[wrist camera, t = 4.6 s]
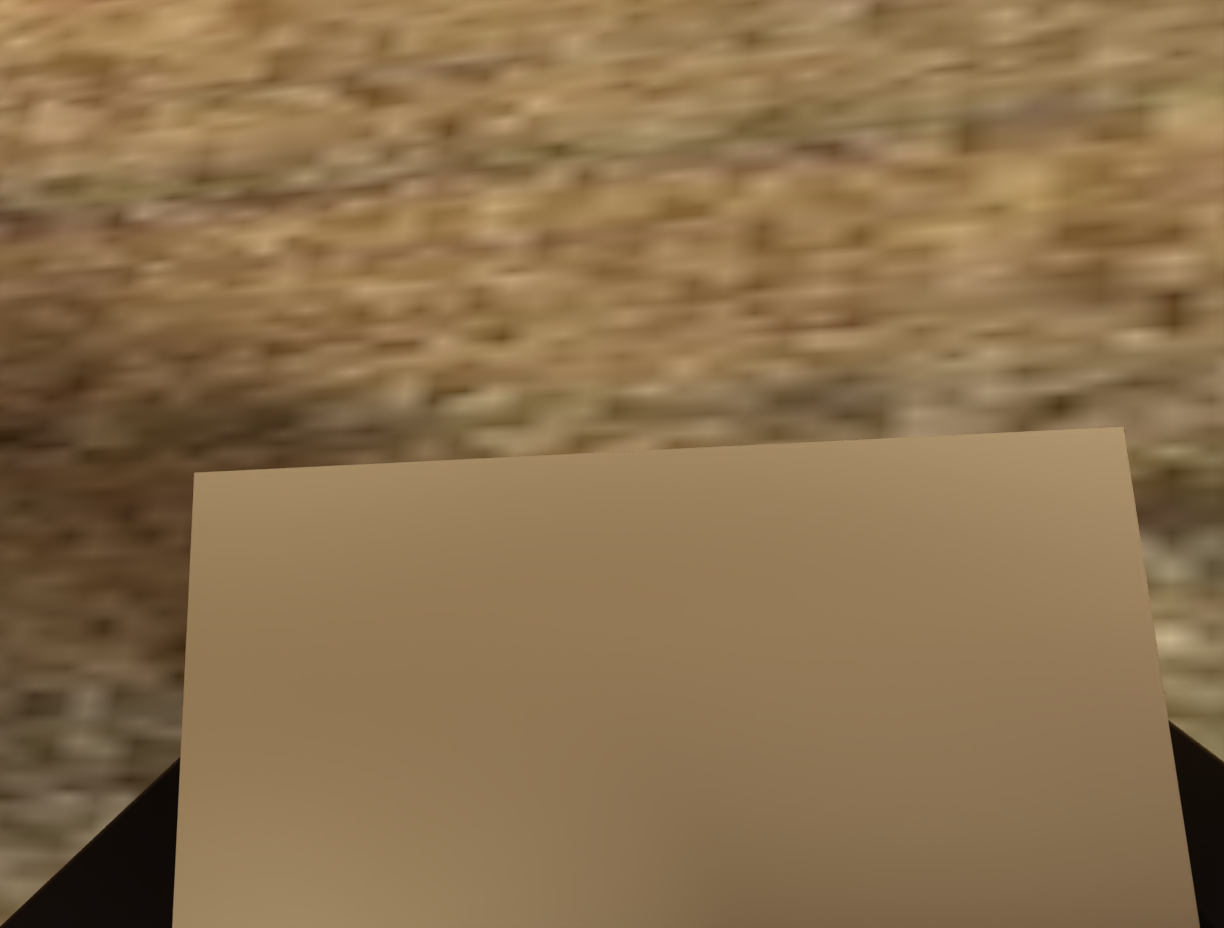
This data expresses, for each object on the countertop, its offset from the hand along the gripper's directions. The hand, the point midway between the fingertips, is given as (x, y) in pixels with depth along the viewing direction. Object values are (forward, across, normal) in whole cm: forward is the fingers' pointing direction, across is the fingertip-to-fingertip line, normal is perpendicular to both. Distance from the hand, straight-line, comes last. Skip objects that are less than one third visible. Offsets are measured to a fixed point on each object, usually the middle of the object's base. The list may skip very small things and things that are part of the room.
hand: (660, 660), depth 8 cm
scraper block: (+5, 0, +7) cm, 9 cm away
